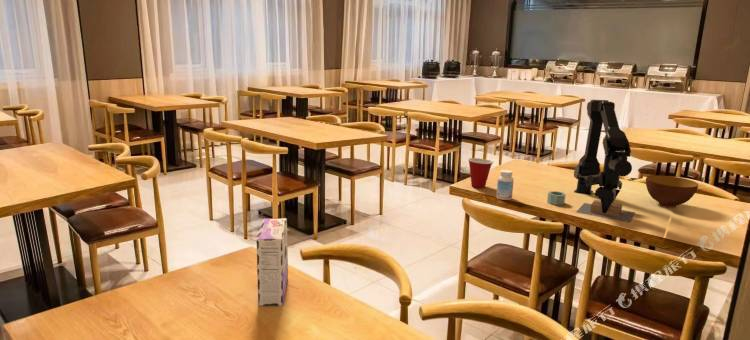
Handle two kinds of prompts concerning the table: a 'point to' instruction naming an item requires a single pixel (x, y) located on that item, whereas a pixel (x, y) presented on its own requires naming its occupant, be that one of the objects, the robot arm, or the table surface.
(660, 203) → the bowl
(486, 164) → the plastic cup
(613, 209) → the lid
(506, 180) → the pill bottle
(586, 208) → the mat
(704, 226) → the table surface
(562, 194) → the ramekin
